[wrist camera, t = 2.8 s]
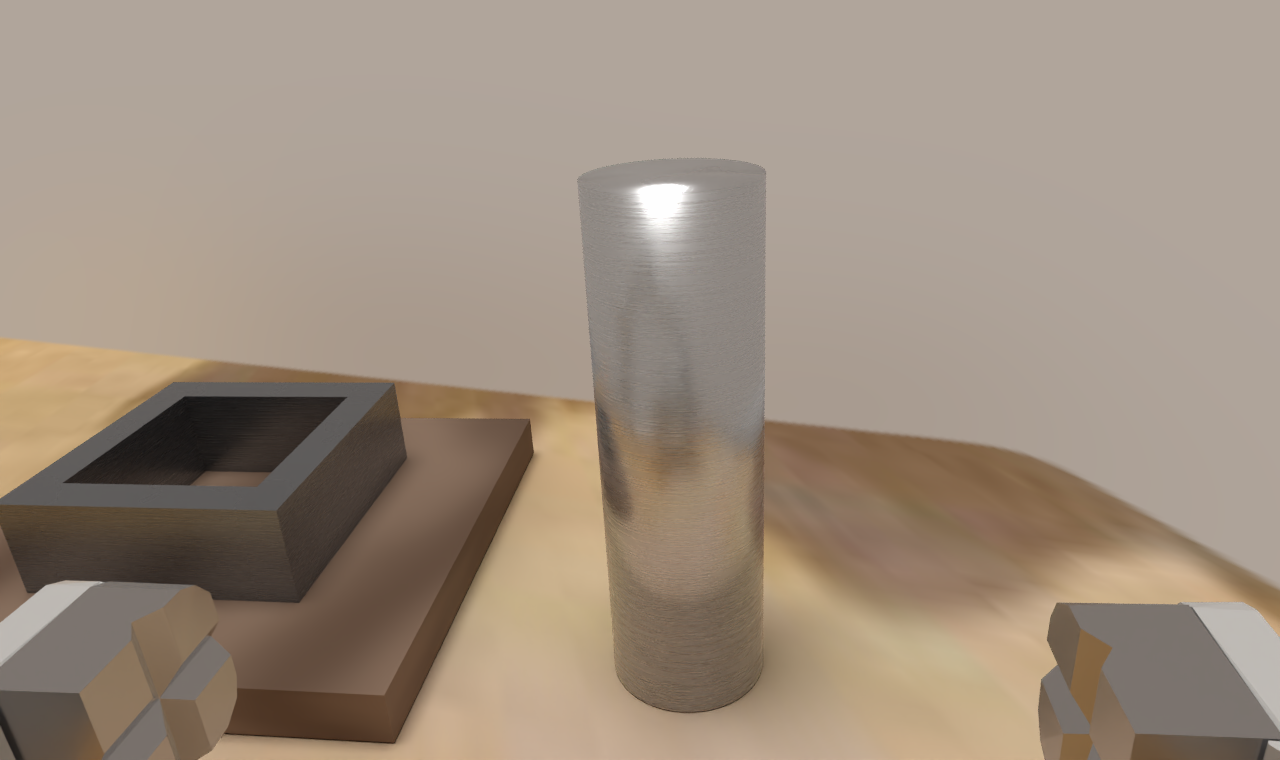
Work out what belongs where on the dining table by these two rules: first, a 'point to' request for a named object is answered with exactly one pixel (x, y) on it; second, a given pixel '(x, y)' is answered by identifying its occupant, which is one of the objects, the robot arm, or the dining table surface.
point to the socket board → (366, 590)
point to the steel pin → (680, 419)
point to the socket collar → (212, 490)
